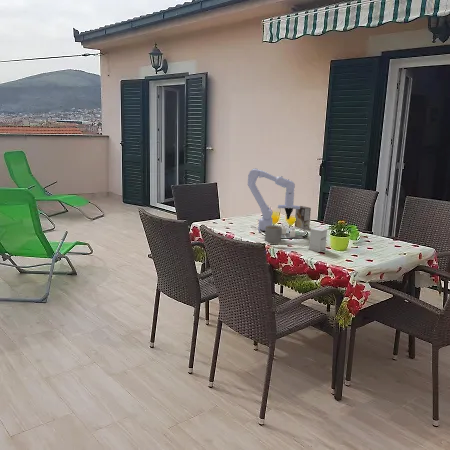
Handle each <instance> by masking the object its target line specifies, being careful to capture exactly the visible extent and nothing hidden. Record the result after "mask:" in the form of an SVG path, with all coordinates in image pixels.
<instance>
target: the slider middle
mask: <svg viewBox="0 0 450 450" xmlns="http://www.w3.org/2000/svg"><path fill="white" fill-rule="evenodd" d="M286 231H287V227H286V226H285V227H282V234H286Z"/></svg>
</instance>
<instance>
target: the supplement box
mask: <svg viewBox="0 0 450 450" xmlns="http://www.w3.org/2000/svg"><path fill="white" fill-rule="evenodd" d="M327 234H328V229H326V228H321V227H314V228H310V232H309V242H308V243H309V245H308V250H310V251H315V252H319V253H320V252H322V251H325V250H326V248H327V247H326V246H327V245H326V244H327V236H328V235H327Z"/></svg>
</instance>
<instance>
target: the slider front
mask: <svg viewBox="0 0 450 450" xmlns="http://www.w3.org/2000/svg"><path fill="white" fill-rule="evenodd" d="M289 231H290V237H295V232H296V230H295V229H290V230H289Z"/></svg>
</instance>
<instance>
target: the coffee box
mask: <svg viewBox="0 0 450 450" xmlns="http://www.w3.org/2000/svg"><path fill="white" fill-rule="evenodd" d="M299 206H300V209H295V217H294V219H295V218H296V221H295V220H294V227H295V228H297V229H301V230H306V229H310V222H311V209H312V208H311V207H307V206H304V205H299Z"/></svg>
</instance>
